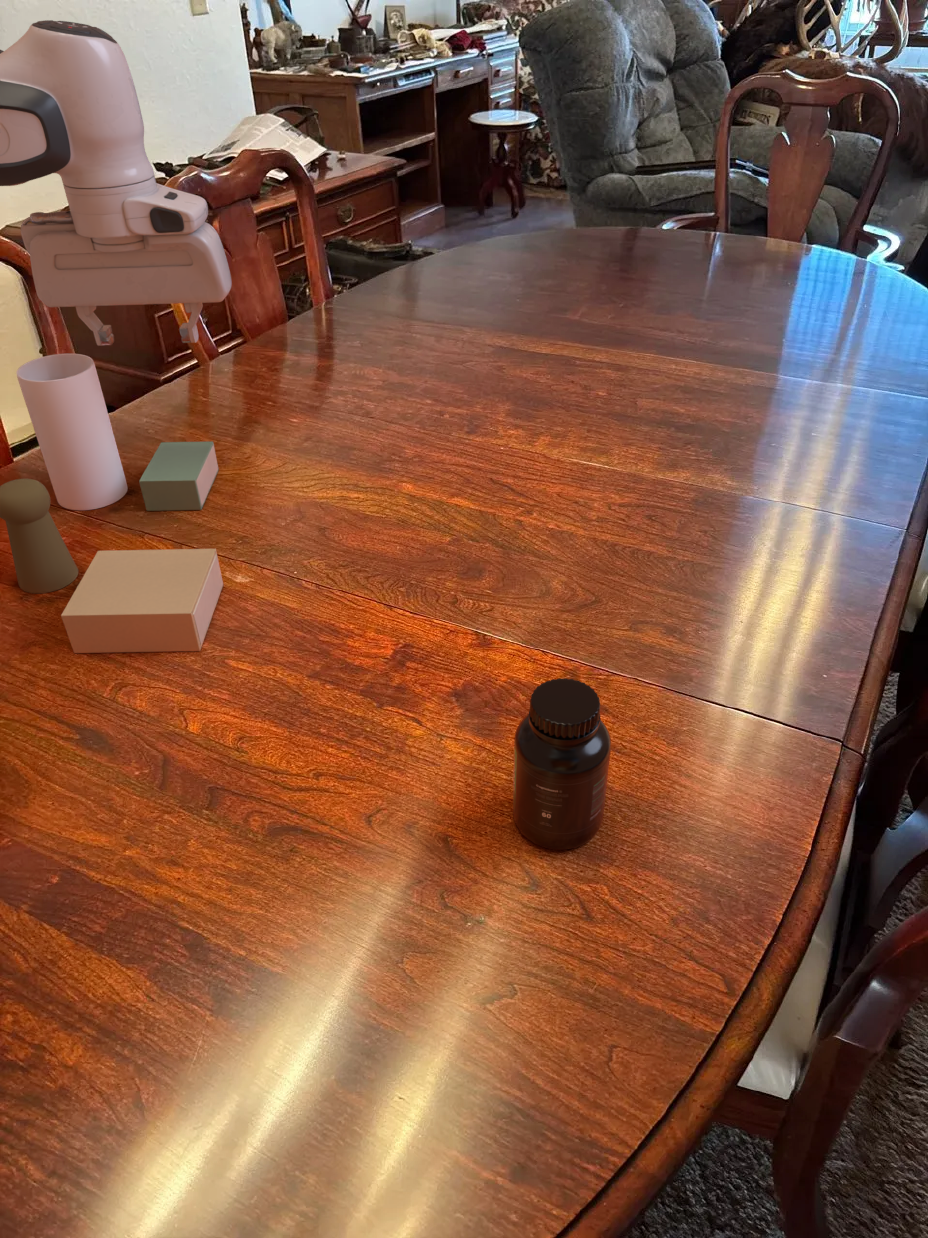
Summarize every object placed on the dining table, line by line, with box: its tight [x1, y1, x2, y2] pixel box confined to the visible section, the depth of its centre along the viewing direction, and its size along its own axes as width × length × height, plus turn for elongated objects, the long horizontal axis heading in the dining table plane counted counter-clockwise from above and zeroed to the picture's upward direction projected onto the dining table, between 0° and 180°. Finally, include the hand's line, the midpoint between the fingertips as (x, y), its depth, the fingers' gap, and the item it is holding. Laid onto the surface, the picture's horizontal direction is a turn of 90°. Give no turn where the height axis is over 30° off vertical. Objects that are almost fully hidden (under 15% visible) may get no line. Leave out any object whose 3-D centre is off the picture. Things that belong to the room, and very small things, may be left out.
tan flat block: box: [60, 548, 224, 654], centre depth 90 cm, size 12×11×4 cm
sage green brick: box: [138, 440, 220, 512], centre depth 111 cm, size 6×10×4 cm, turn 0°
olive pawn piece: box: [0, 478, 79, 594], centre depth 94 cm, size 6×6×11 cm
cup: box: [16, 353, 129, 511], centre depth 107 cm, size 8×8×16 cm
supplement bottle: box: [512, 677, 612, 851], centre depth 67 cm, size 7×7×12 cm
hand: (148, 342), depth 102 cm, fingers open, 8 cm apart
